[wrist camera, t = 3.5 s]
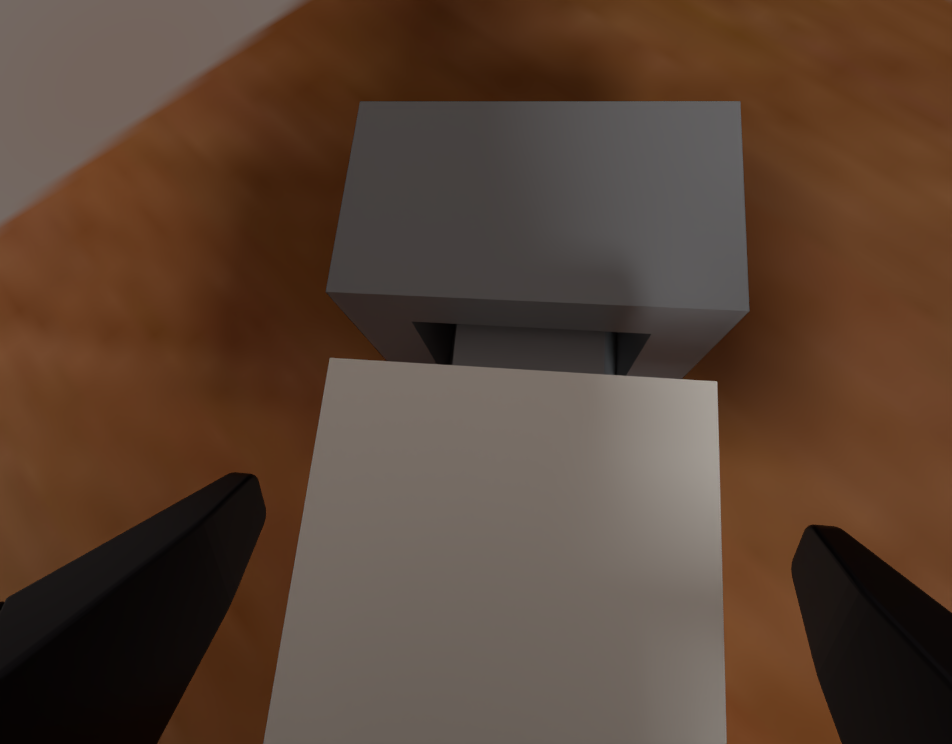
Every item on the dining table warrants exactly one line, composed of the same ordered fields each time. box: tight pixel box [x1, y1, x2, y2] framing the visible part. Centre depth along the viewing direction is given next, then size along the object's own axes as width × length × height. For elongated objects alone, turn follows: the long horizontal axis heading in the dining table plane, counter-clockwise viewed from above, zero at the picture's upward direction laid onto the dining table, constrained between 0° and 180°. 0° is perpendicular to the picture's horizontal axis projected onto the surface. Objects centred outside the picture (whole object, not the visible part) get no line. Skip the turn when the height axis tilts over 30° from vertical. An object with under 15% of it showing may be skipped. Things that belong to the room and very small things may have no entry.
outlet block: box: [326, 101, 749, 379], centre depth 13 cm, size 4×7×8 cm, turn 85°
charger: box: [263, 324, 727, 744], centre depth 11 cm, size 10×4×10 cm, turn 175°
